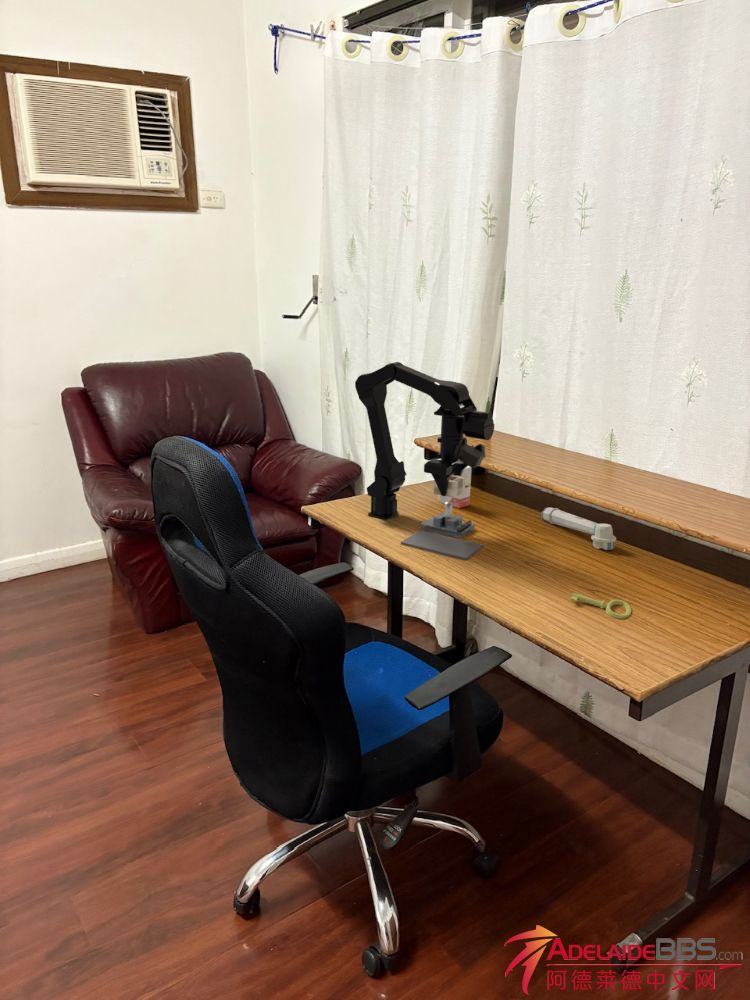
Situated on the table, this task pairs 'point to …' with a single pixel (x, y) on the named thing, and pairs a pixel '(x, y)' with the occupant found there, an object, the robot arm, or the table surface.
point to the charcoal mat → (442, 544)
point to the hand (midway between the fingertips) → (449, 492)
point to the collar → (453, 486)
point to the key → (604, 605)
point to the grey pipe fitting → (582, 527)
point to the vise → (448, 523)
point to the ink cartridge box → (462, 498)
